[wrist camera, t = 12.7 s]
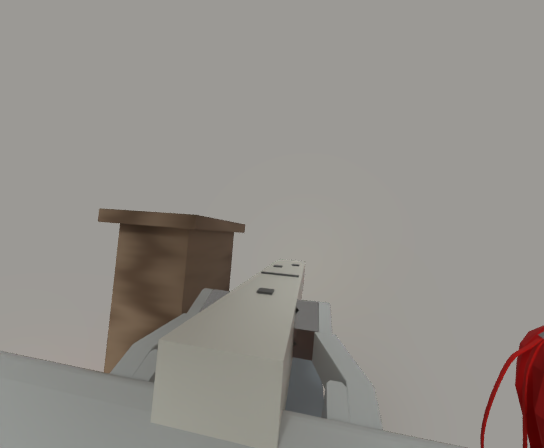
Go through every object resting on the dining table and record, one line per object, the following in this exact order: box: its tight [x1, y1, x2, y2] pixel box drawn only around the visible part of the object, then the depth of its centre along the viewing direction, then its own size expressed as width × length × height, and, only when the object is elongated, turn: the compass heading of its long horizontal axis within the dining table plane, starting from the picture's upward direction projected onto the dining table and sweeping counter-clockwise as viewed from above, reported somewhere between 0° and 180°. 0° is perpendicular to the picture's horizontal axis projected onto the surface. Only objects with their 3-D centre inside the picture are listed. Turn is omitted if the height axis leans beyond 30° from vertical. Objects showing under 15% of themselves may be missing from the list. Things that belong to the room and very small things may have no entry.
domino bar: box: [150, 259, 305, 448], centre depth 15 cm, size 3×21×2 cm, turn 170°
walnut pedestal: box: [98, 209, 245, 373], centre depth 22 cm, size 9×12×26 cm
